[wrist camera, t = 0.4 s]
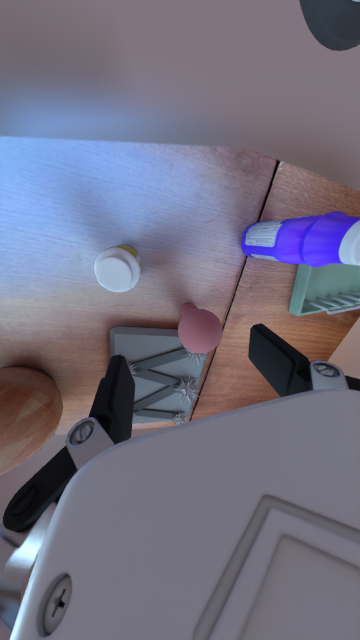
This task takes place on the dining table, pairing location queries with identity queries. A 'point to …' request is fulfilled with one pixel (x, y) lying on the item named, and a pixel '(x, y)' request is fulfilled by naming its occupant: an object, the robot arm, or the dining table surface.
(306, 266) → the dish rack
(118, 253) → the supplement bottle
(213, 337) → the light bulb
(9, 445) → the jug
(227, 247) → the dining table surface
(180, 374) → the decorative plate
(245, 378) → the dining table surface
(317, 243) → the bottle
